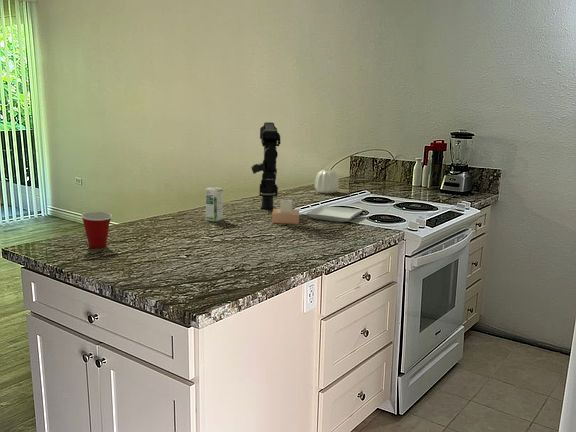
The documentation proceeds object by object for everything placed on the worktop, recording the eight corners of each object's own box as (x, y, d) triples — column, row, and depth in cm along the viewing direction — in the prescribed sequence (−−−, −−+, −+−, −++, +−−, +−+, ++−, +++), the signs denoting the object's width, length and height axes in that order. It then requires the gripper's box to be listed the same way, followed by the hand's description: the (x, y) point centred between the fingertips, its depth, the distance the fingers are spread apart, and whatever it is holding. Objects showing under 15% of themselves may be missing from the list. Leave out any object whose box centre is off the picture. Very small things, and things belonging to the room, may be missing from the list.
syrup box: (205, 220, 256) (204, 188, 253) (212, 217, 261) (212, 186, 258) (215, 222, 253) (215, 189, 250) (223, 219, 258) (223, 187, 255)
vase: (339, 195, 327) (340, 171, 324) (314, 194, 327) (315, 171, 324) (337, 190, 341) (338, 168, 338) (313, 190, 341) (314, 167, 338)
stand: (273, 216, 266) (273, 208, 265) (299, 217, 266) (299, 209, 265) (271, 222, 255) (272, 214, 254) (298, 223, 254) (299, 214, 253)
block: (280, 210, 262) (280, 199, 261) (291, 210, 262) (291, 199, 261) (280, 212, 257) (280, 201, 256) (291, 212, 257) (291, 202, 256)
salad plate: (304, 219, 264) (305, 212, 263) (321, 211, 283) (321, 204, 282) (348, 225, 256) (349, 217, 255) (362, 216, 275) (363, 209, 274)
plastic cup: (98, 252, 203) (97, 218, 200) (75, 247, 208) (74, 215, 205) (119, 245, 213) (118, 213, 210) (97, 241, 217) (96, 210, 215)
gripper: (253, 154, 272) (253, 186, 275) (251, 160, 253) (250, 194, 257) (277, 155, 272) (276, 187, 275) (276, 160, 254) (275, 195, 257)
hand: (269, 191), depth 266 cm, fingers open, 9 cm apart
